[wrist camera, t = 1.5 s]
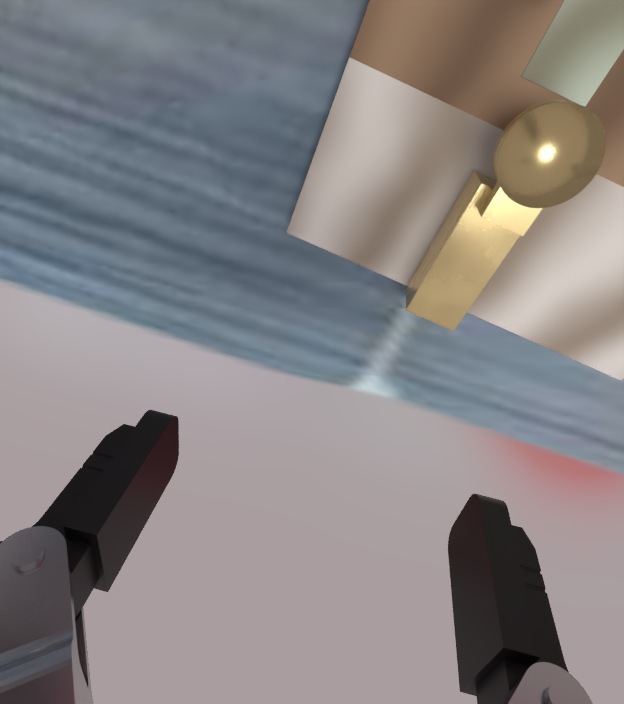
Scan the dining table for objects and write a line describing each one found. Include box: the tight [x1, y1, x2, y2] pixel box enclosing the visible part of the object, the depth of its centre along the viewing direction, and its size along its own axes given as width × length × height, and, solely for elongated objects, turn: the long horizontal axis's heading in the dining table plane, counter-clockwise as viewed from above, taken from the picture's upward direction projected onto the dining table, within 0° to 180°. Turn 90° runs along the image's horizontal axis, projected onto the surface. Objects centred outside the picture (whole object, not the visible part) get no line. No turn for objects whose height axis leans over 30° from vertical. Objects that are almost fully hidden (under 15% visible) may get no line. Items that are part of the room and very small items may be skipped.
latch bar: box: [406, 100, 606, 331], centre depth 21 cm, size 11×4×4 cm, turn 159°
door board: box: [286, 0, 624, 380], centre depth 20 cm, size 22×18×5 cm
